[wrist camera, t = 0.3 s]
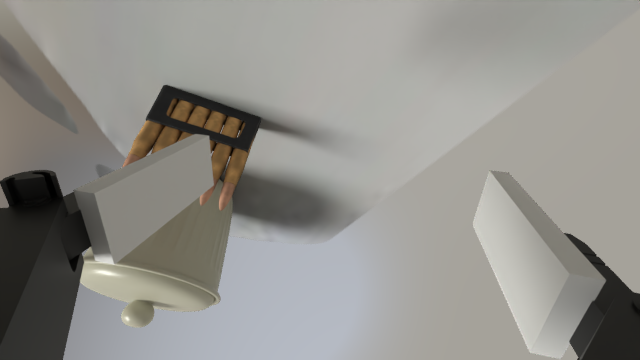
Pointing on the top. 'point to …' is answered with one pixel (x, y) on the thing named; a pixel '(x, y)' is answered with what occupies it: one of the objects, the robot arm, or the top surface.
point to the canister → (168, 265)
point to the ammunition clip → (190, 117)
